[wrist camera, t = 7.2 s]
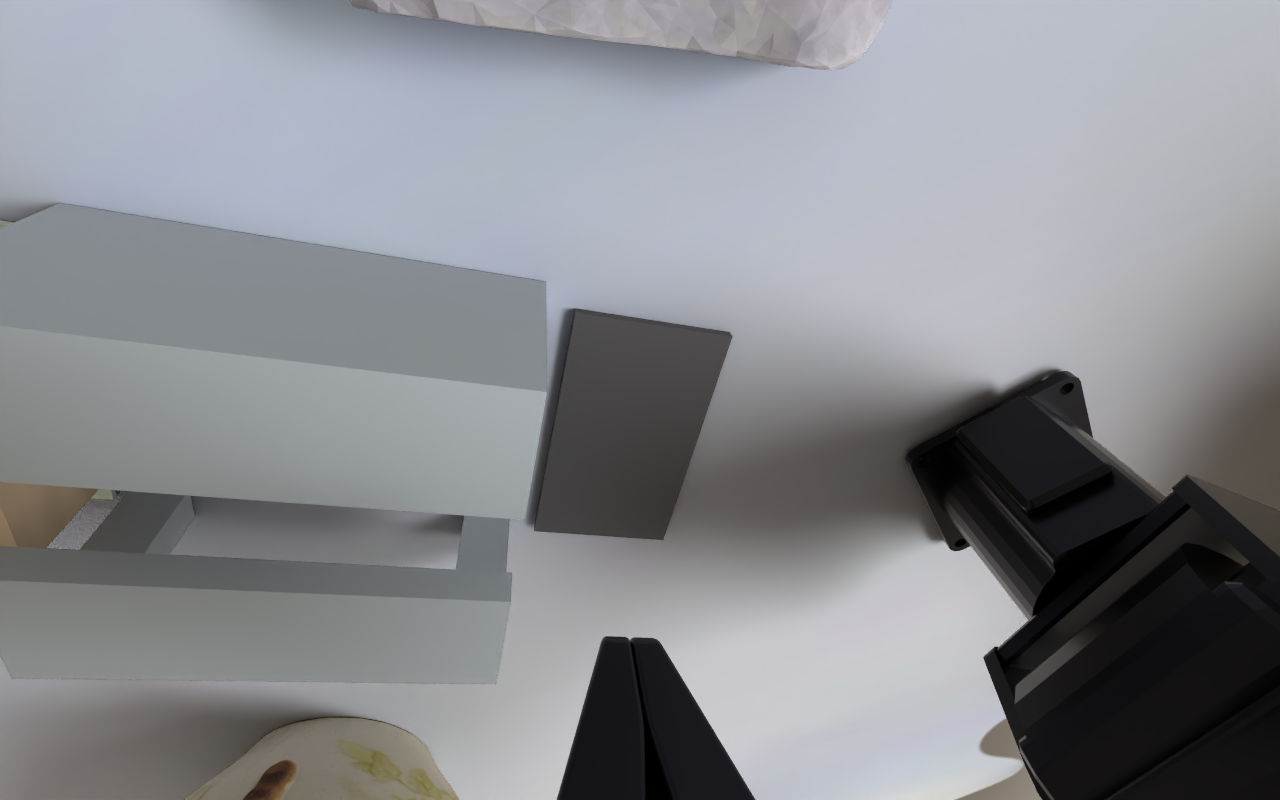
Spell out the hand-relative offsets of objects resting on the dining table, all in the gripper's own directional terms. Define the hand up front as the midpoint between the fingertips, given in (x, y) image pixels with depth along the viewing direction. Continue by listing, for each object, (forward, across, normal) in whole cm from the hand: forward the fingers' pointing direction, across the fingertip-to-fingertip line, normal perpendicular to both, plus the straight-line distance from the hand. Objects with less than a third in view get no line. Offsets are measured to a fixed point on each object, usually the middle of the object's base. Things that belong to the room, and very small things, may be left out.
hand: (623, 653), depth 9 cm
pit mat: (+12, -2, +4) cm, 13 cm away
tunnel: (+11, +8, +4) cm, 14 cm away
